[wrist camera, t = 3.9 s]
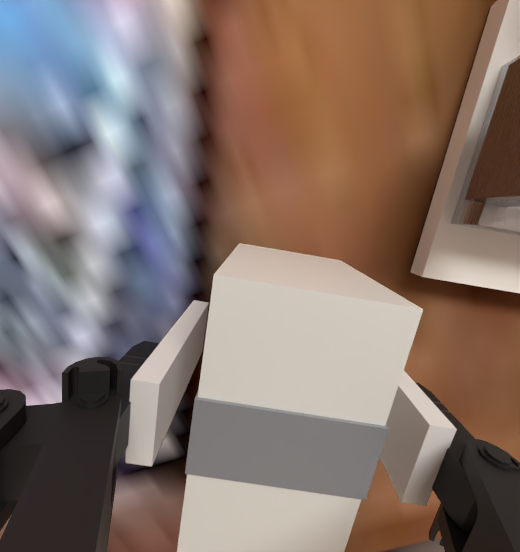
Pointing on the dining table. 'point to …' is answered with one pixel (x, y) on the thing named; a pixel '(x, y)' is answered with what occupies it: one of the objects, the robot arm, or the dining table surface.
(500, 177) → the rail
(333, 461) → the block
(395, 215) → the dining table surface
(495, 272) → the mount plate
